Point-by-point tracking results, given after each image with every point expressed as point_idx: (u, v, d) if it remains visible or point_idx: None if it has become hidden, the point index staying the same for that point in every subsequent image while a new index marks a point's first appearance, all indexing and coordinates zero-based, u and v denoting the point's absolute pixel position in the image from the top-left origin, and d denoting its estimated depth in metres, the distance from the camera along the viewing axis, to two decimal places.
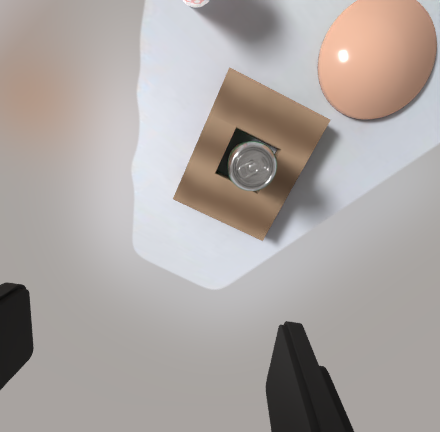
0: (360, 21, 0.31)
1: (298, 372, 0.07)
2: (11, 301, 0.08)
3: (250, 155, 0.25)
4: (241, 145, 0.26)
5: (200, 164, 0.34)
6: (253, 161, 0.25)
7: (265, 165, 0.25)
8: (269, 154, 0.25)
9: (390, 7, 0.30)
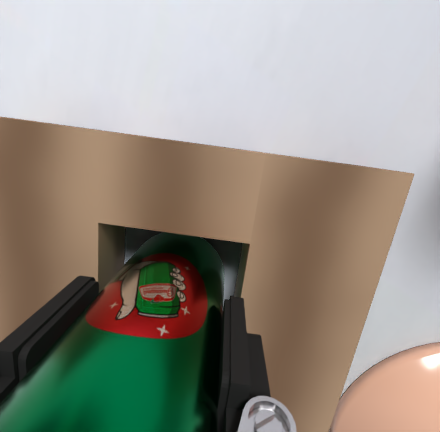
0: None
1: (227, 334, 0.08)
2: (88, 291, 0.09)
3: None
4: None
5: (104, 171, 0.10)
6: None
7: None
8: None
9: None
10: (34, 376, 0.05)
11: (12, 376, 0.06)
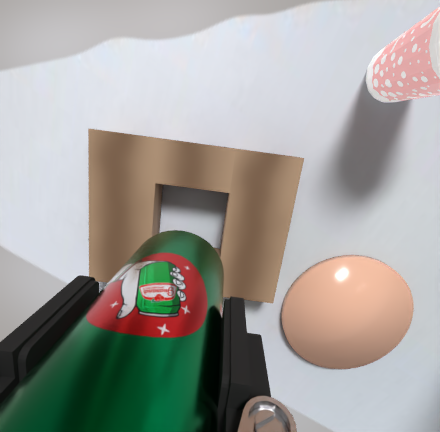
0: (381, 287, 0.27)
1: (227, 334, 0.08)
2: (88, 291, 0.09)
3: None
4: None
5: (159, 157, 0.22)
6: None
7: None
8: None
9: (398, 309, 0.28)
10: (36, 375, 0.05)
11: (12, 376, 0.06)
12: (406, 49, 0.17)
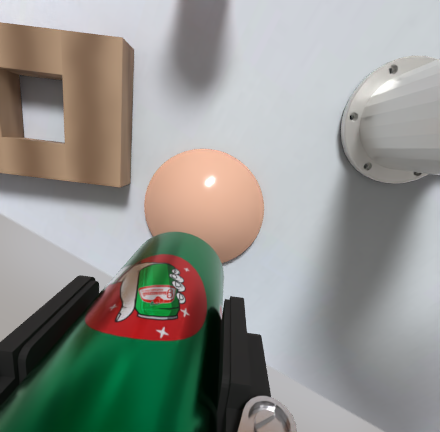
0: (229, 178, 0.29)
1: (227, 334, 0.08)
2: (88, 291, 0.09)
3: None
4: None
5: None
6: None
7: None
8: None
9: (249, 201, 0.30)
10: (34, 379, 0.05)
11: (12, 376, 0.06)
12: None
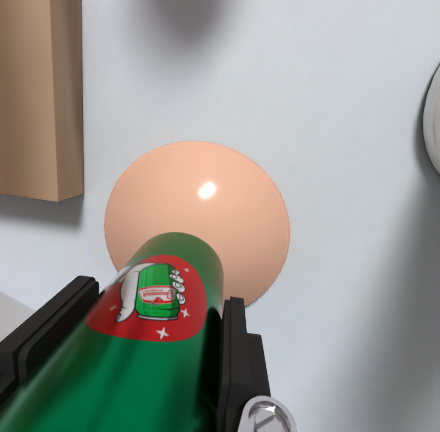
0: (237, 189, 0.18)
1: (227, 334, 0.08)
2: (88, 291, 0.09)
3: None
4: None
5: None
6: None
7: None
8: None
9: (268, 226, 0.19)
10: (33, 380, 0.05)
11: (12, 376, 0.06)
12: None
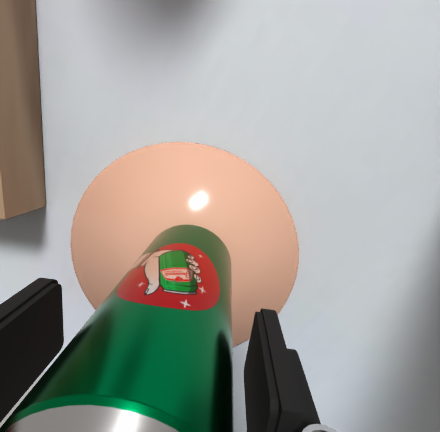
0: (233, 202, 0.15)
1: (266, 352, 0.07)
2: (47, 295, 0.09)
3: None
4: None
5: None
6: None
7: None
8: None
9: (271, 246, 0.15)
10: (84, 337, 0.06)
11: None
12: None
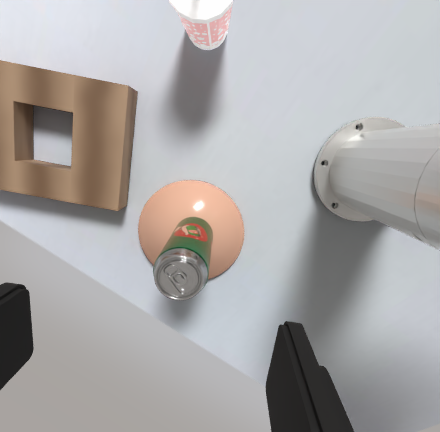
0: (215, 207, 0.33)
1: (298, 372, 0.07)
2: (11, 301, 0.08)
3: (191, 273, 0.22)
4: (199, 257, 0.23)
5: (14, 79, 0.27)
6: (186, 276, 0.22)
7: (186, 289, 0.23)
8: (198, 290, 0.23)
9: (232, 228, 0.34)
10: (171, 242, 0.24)
11: None
12: None
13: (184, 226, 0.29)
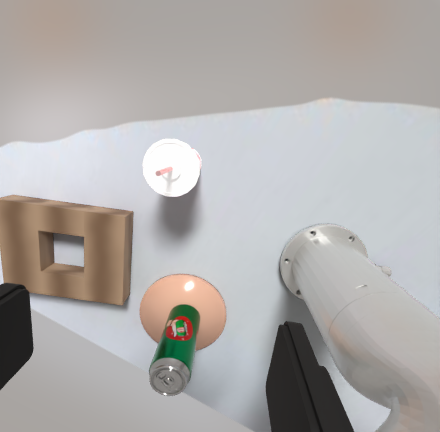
0: (201, 295, 0.40)
1: (298, 372, 0.07)
2: (11, 301, 0.08)
3: (176, 377, 0.30)
4: (182, 363, 0.30)
5: (38, 215, 0.35)
6: (173, 379, 0.30)
7: (174, 387, 0.30)
8: (182, 389, 0.30)
9: (215, 310, 0.41)
10: (162, 347, 0.32)
11: None
12: None
13: (174, 321, 0.36)
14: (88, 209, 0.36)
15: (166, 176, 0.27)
